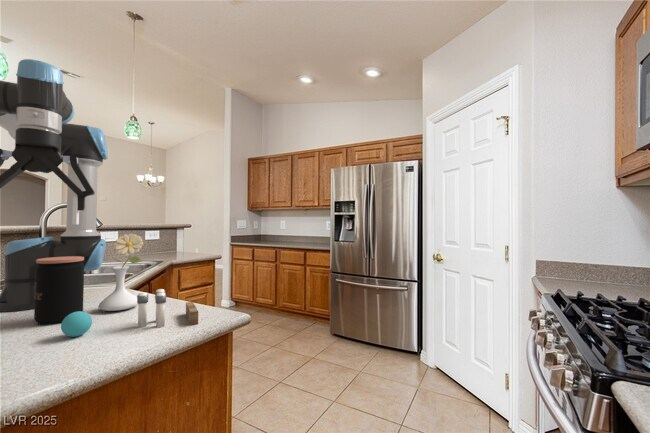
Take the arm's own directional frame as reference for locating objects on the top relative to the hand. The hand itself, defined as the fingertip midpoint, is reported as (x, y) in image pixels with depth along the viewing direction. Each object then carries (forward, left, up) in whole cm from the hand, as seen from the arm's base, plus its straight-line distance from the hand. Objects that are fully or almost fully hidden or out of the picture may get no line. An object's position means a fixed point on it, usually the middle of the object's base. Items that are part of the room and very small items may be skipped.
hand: (36, 224), depth 67 cm
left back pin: (-8, +25, -28) cm, 38 cm away
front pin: (-5, +21, -28) cm, 35 cm away
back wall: (-5, +33, -28) cm, 44 cm away
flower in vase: (-28, +15, -28) cm, 43 cm away
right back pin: (-3, +25, -28) cm, 38 cm away
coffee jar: (-24, 0, -28) cm, 37 cm away
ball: (-5, +7, -25) cm, 26 cm away
